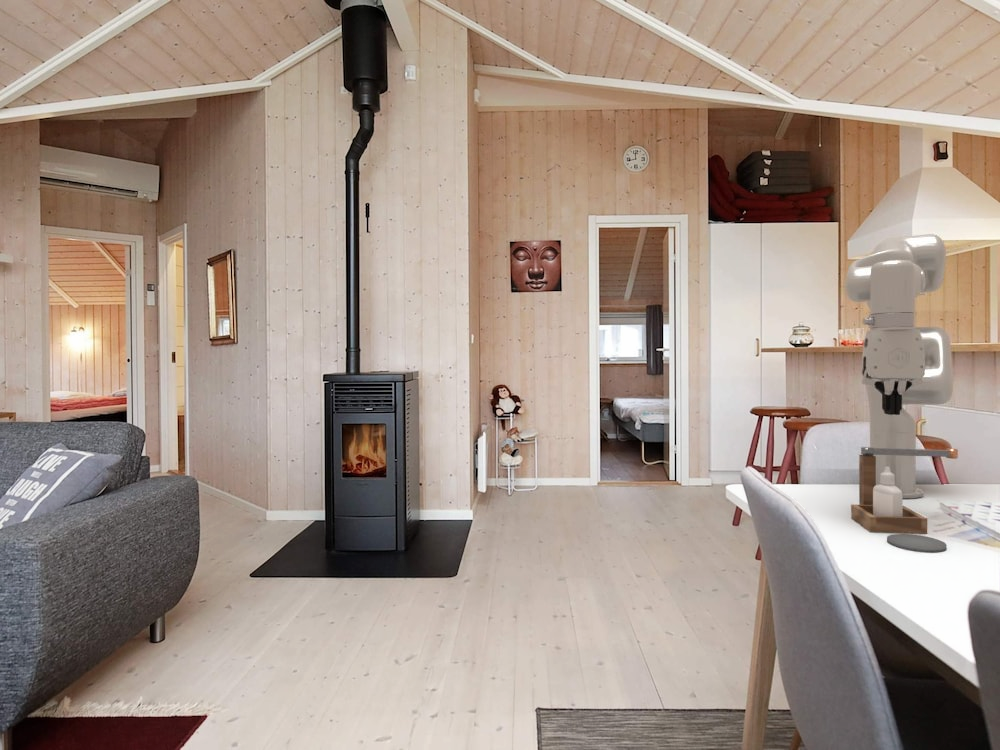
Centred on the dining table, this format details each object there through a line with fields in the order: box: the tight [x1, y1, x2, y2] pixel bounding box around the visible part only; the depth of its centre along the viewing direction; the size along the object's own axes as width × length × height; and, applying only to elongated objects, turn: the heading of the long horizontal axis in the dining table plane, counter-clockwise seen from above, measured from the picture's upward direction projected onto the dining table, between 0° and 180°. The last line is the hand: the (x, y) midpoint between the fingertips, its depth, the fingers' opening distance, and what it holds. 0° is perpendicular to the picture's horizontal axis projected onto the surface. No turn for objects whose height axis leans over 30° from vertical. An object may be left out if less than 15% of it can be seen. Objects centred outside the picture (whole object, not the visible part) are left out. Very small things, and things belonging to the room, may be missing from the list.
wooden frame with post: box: [850, 454, 928, 535], centre depth 126 cm, size 16×10×13 cm, turn 169°
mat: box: [886, 533, 947, 553], centre depth 111 cm, size 9×9×1 cm
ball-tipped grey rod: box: [860, 446, 959, 460], centre depth 130 cm, size 18×2×2 cm, turn 71°
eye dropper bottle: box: [873, 467, 903, 517], centre depth 123 cm, size 4×6×12 cm
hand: (891, 414), depth 122 cm, fingers closed
